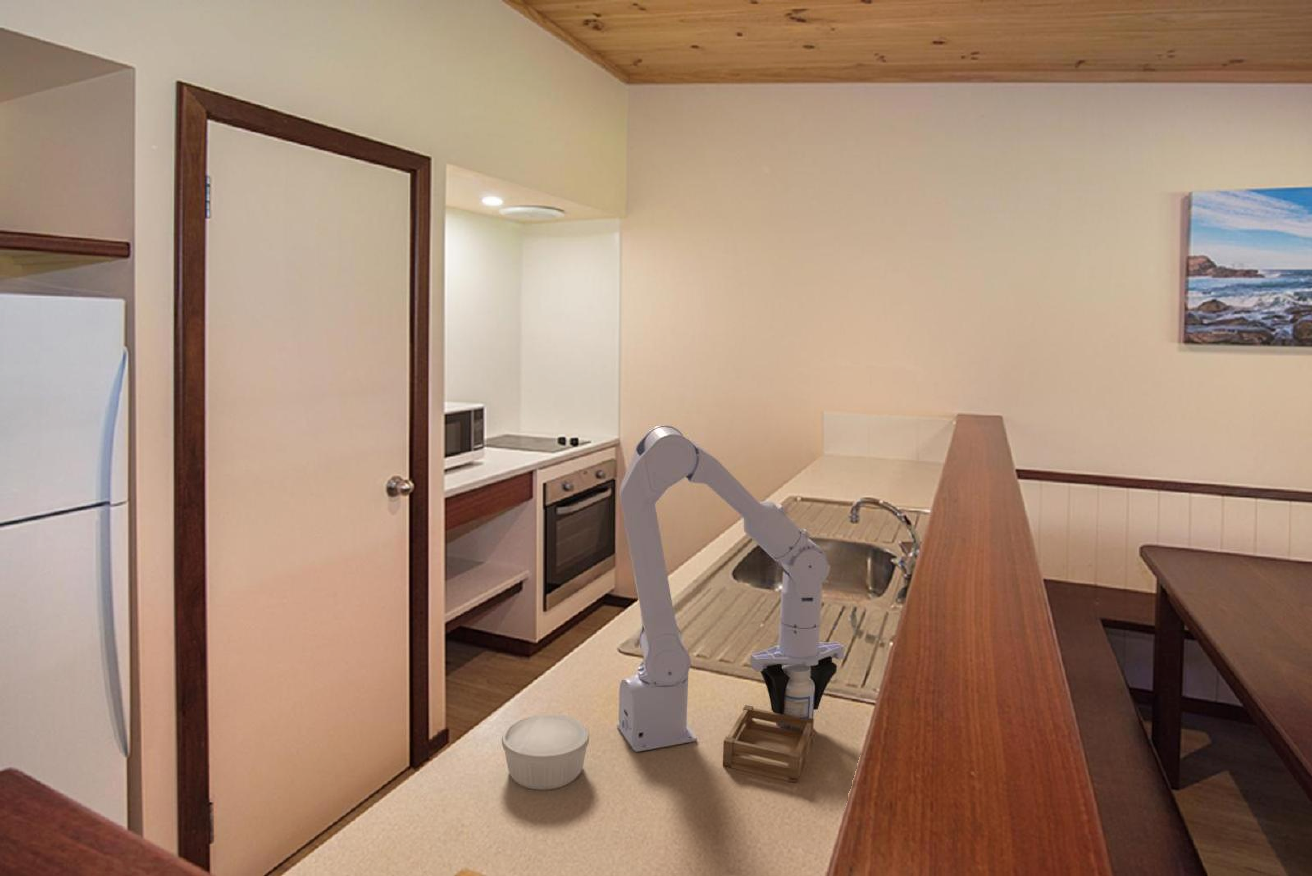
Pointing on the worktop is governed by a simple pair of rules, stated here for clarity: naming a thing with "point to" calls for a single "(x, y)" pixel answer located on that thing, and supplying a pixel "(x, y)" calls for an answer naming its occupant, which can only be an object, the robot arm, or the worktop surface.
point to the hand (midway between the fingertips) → (794, 709)
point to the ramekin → (545, 750)
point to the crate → (768, 744)
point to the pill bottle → (798, 693)
